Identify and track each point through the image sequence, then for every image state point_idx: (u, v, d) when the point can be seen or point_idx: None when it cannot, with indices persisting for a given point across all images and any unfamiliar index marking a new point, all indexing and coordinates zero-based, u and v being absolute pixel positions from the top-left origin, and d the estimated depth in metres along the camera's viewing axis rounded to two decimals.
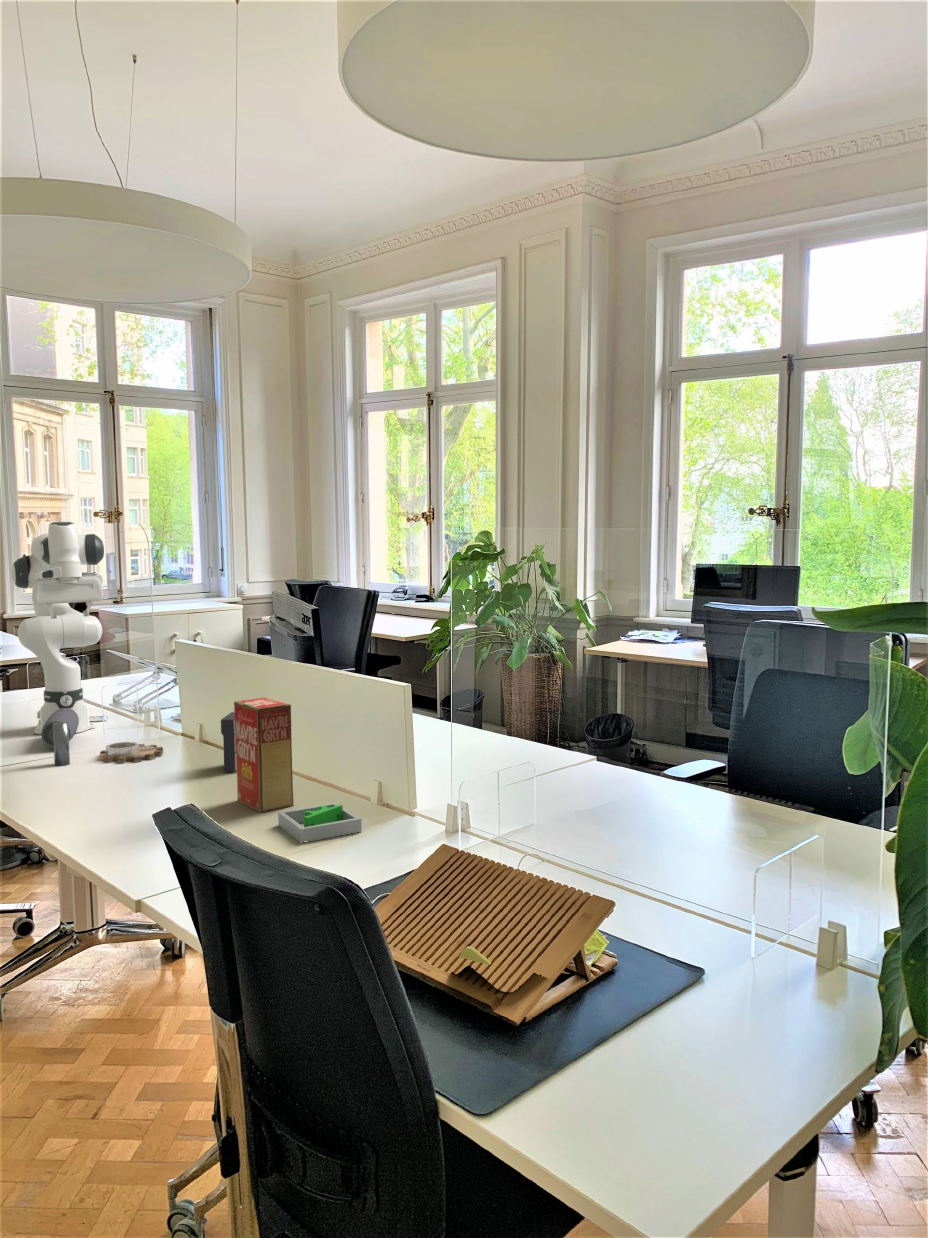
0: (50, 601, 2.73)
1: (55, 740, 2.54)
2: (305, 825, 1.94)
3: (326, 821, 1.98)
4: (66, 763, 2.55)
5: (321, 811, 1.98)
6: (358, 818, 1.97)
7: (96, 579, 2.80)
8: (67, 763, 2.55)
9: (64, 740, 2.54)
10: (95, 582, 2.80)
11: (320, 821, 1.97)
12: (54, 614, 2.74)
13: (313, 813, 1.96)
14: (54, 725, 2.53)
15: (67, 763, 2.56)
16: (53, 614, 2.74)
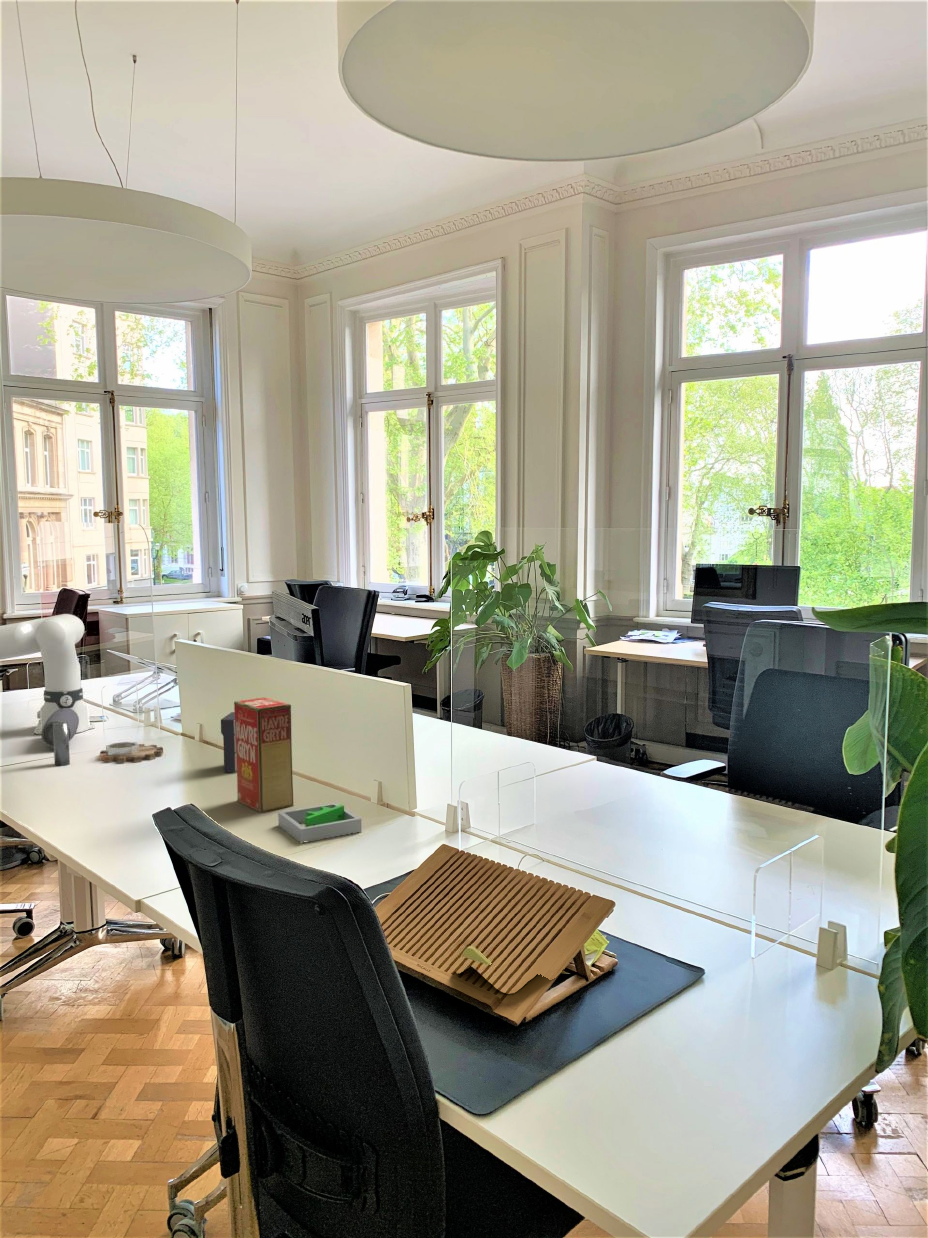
0: None
1: (55, 740, 2.54)
2: (306, 826, 1.93)
3: (327, 821, 1.98)
4: (66, 763, 2.55)
5: (323, 812, 1.97)
6: (358, 818, 1.97)
7: None
8: (67, 763, 2.55)
9: (64, 740, 2.54)
10: None
11: (322, 821, 1.96)
12: None
13: (315, 814, 1.96)
14: (54, 725, 2.53)
15: (67, 763, 2.56)
16: None
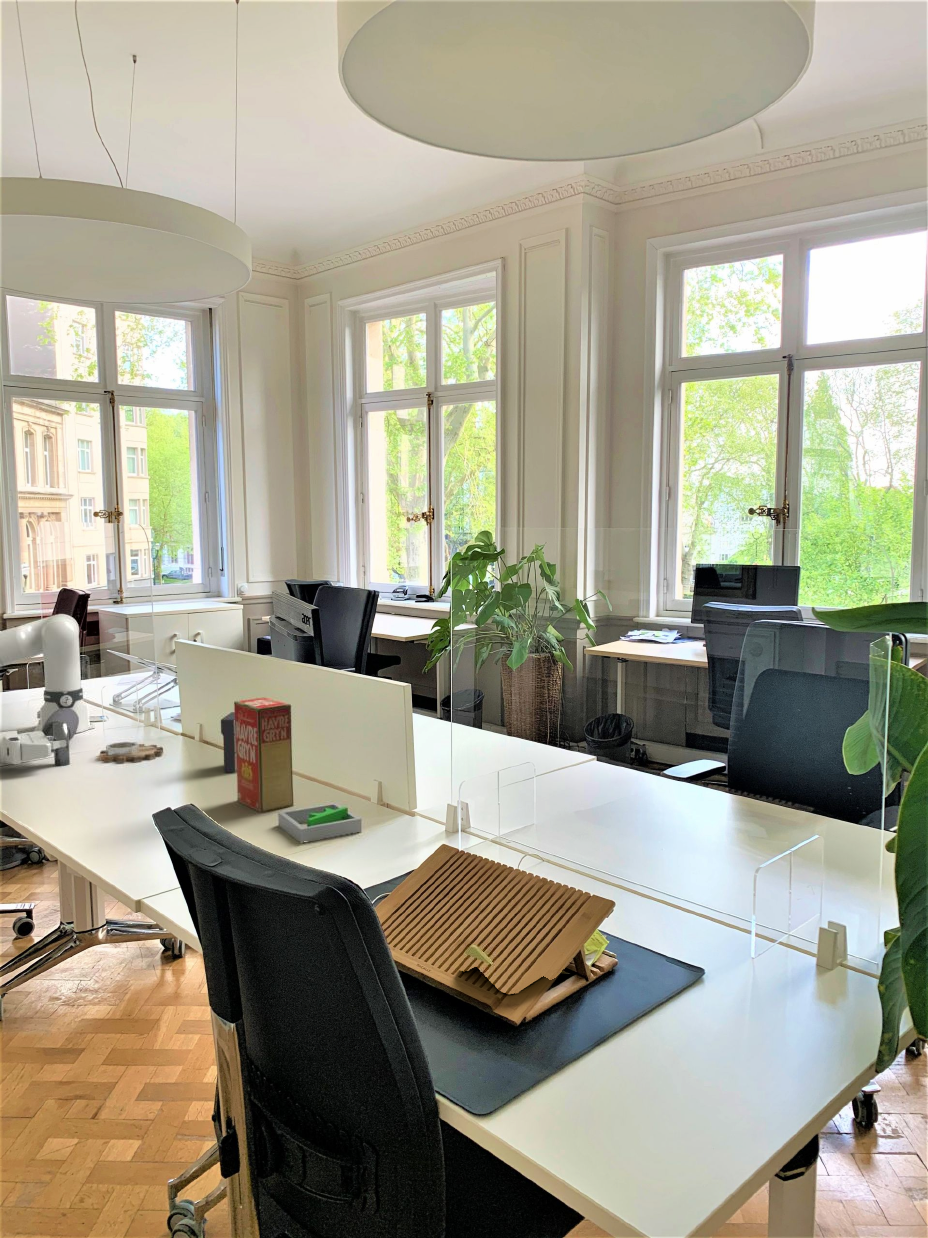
0: (46, 740, 2.48)
1: (55, 740, 2.54)
2: None
3: None
4: (66, 763, 2.55)
5: (325, 813, 1.96)
6: (358, 818, 1.97)
7: (17, 734, 2.57)
8: (67, 763, 2.55)
9: None
10: (21, 734, 2.57)
11: (324, 823, 1.95)
12: (61, 740, 2.53)
13: (317, 815, 1.95)
14: (54, 725, 2.53)
15: (67, 763, 2.56)
16: (61, 740, 2.53)
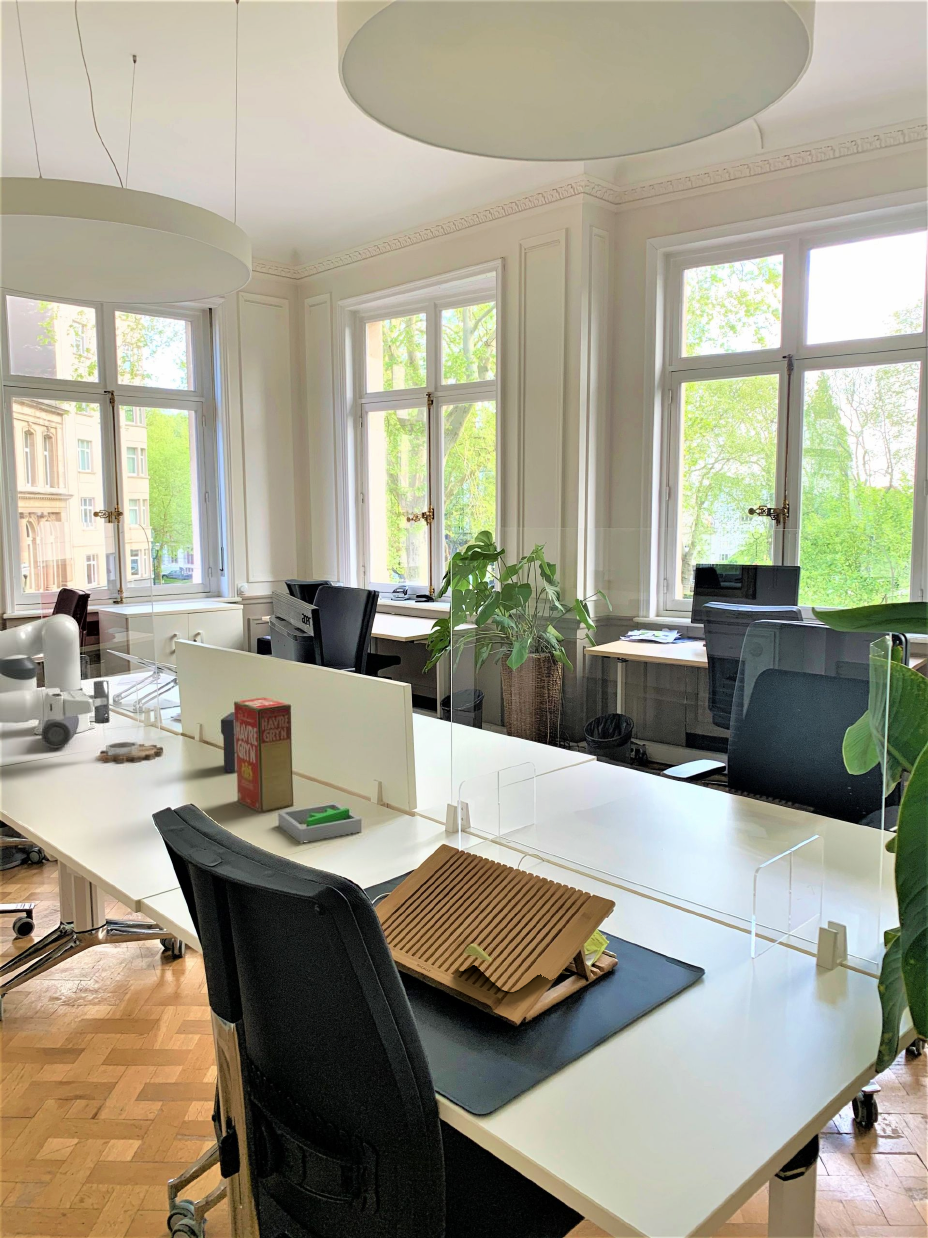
0: (88, 697, 2.53)
1: (96, 698, 2.58)
2: None
3: None
4: (106, 721, 2.59)
5: (325, 814, 1.96)
6: (358, 818, 1.97)
7: None
8: (107, 721, 2.60)
9: None
10: None
11: None
12: (101, 698, 2.57)
13: (317, 816, 1.94)
14: (95, 683, 2.58)
15: (107, 721, 2.60)
16: (102, 698, 2.57)
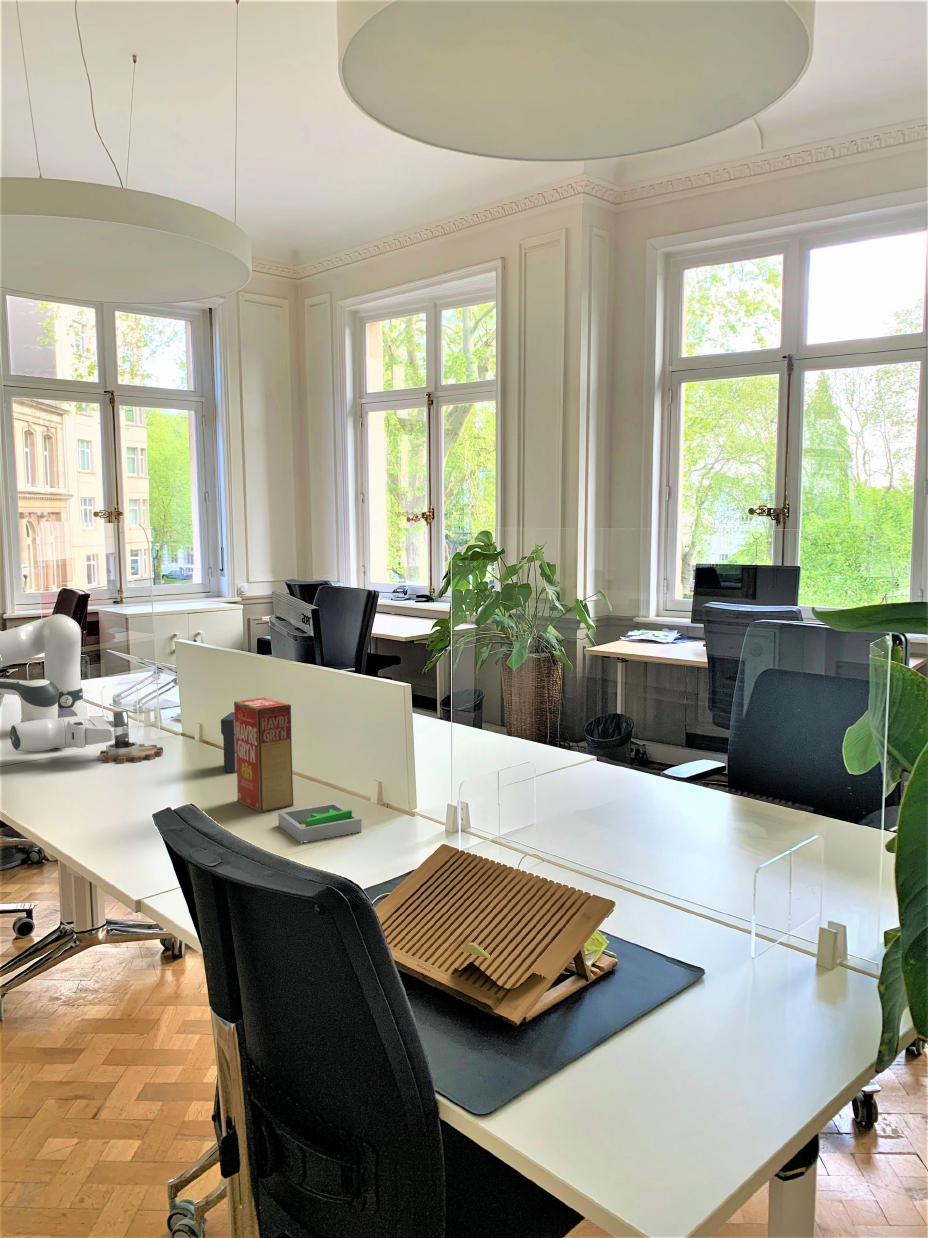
0: (109, 725, 2.57)
1: None
2: None
3: None
4: None
5: (326, 815, 1.95)
6: (358, 818, 1.97)
7: None
8: None
9: None
10: (82, 719, 2.65)
11: None
12: (123, 726, 2.60)
13: (317, 816, 1.94)
14: (115, 714, 2.62)
15: None
16: (123, 726, 2.60)
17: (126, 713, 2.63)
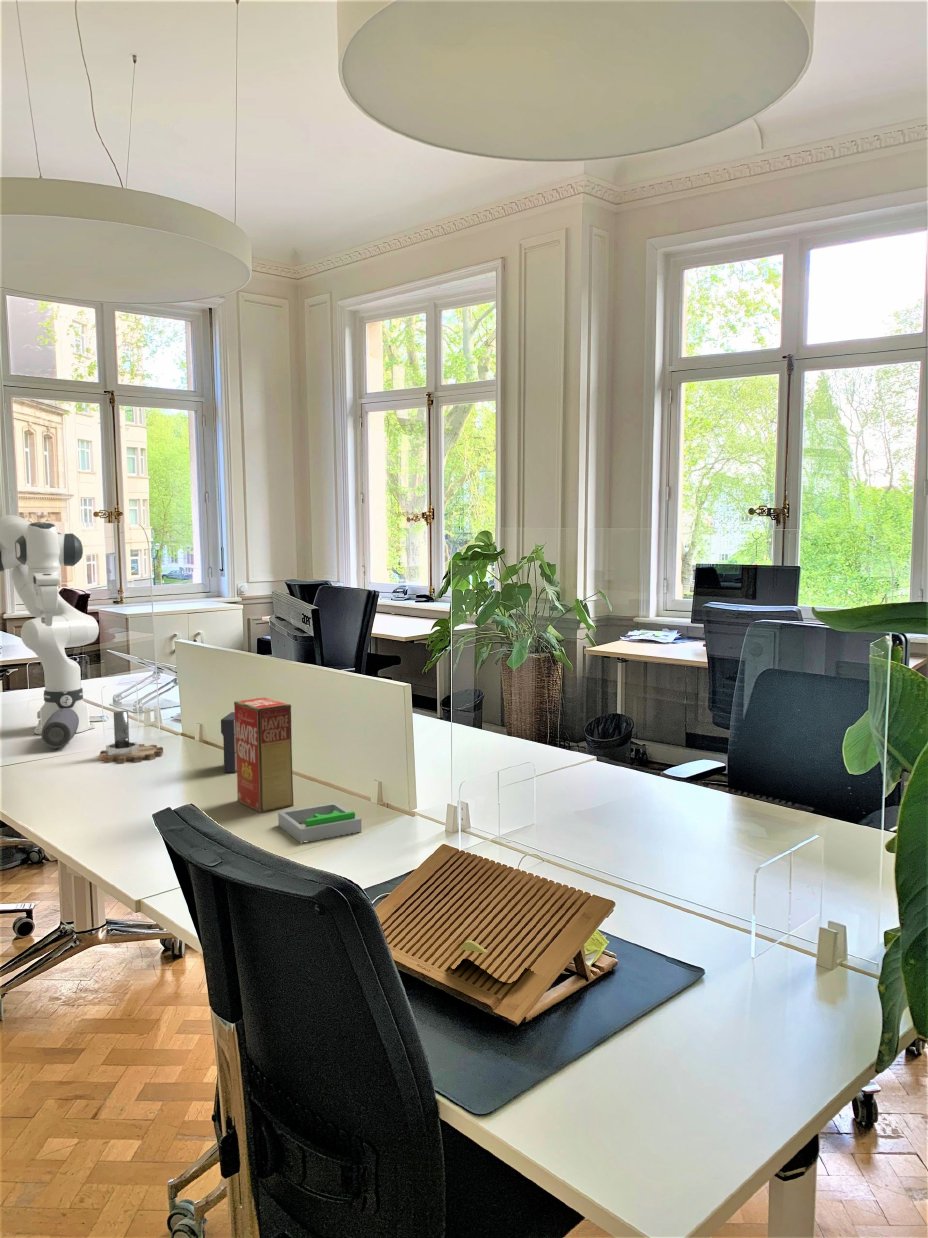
0: None
1: (116, 728, 2.62)
2: None
3: None
4: None
5: (328, 816, 1.94)
6: (358, 818, 1.97)
7: None
8: None
9: (124, 728, 2.63)
10: None
11: None
12: (51, 621, 2.61)
13: (318, 817, 1.94)
14: (115, 714, 2.62)
15: None
16: None
17: (126, 713, 2.63)
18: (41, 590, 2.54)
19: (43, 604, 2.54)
